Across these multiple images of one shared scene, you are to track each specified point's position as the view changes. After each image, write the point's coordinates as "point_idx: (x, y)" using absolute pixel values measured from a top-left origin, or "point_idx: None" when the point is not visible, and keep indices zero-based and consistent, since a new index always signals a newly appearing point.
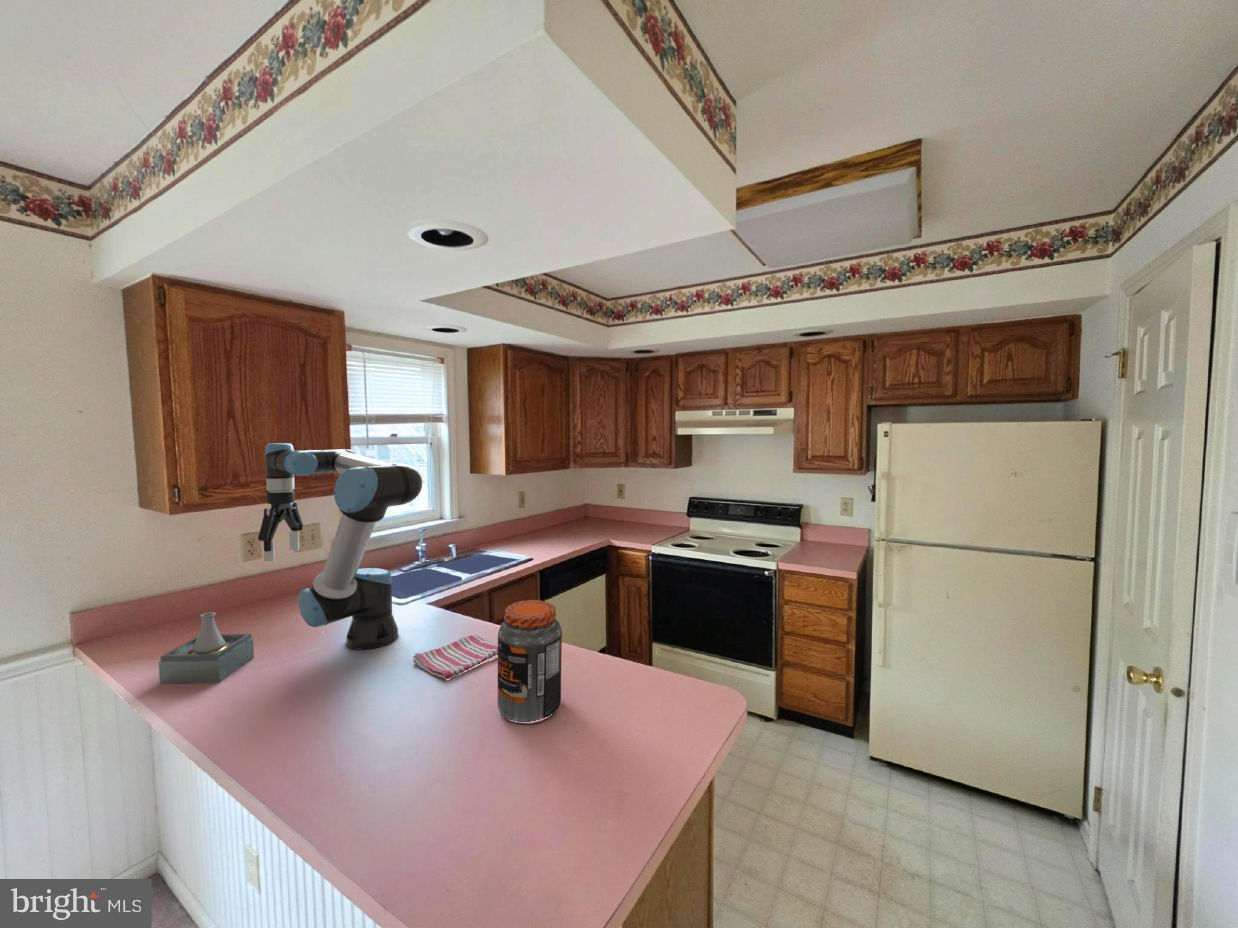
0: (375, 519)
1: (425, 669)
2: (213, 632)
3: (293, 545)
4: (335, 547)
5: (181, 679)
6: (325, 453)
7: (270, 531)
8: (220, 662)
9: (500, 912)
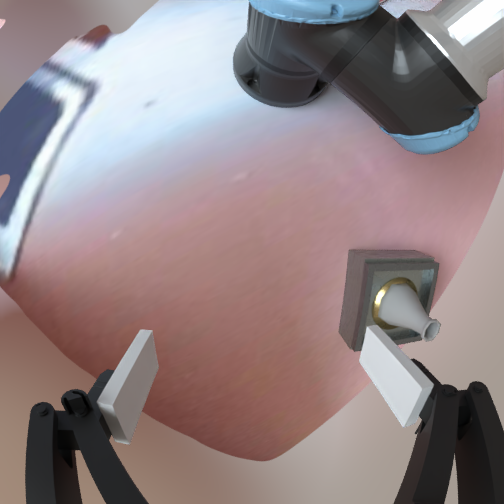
0: None
1: (383, 1)
2: (419, 304)
3: (148, 366)
4: None
5: None
6: None
7: (479, 419)
8: (429, 256)
9: None
